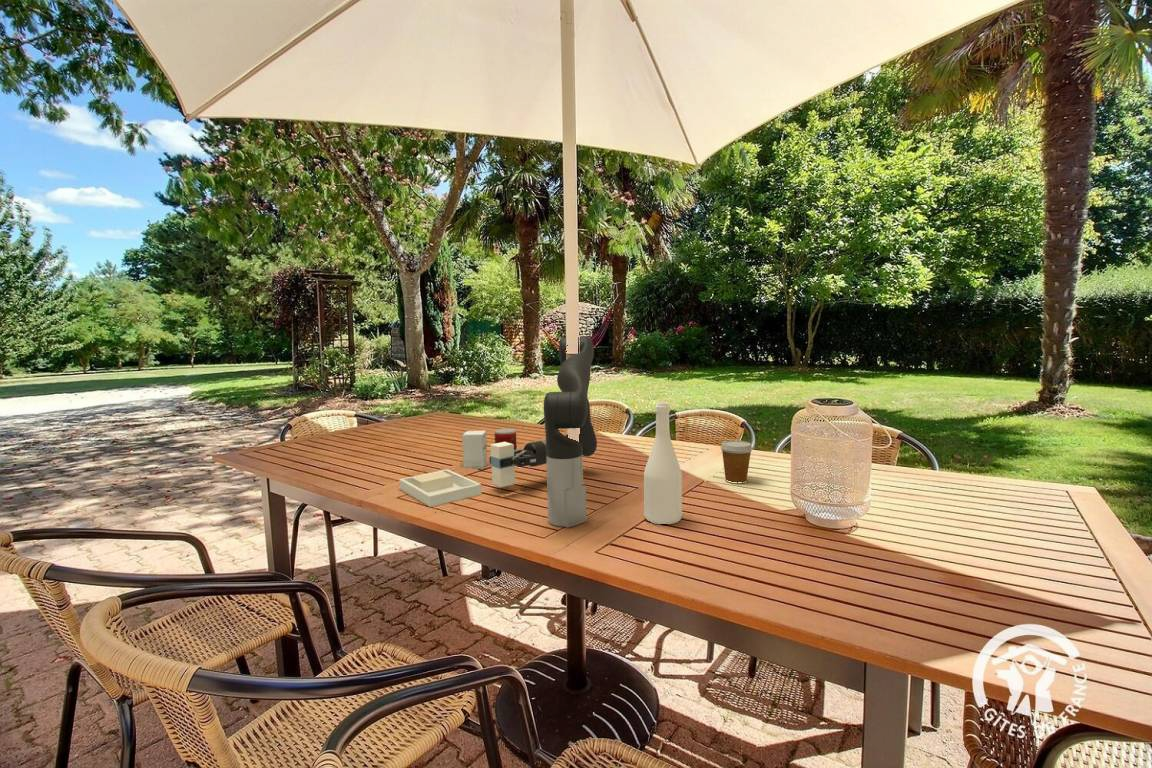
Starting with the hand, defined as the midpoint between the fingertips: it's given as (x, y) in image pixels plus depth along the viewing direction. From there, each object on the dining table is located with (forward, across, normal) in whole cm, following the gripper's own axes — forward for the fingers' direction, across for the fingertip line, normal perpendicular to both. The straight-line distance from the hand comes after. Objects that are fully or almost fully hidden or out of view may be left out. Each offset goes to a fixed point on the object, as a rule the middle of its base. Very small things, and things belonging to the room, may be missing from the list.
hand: (495, 462), depth 156 cm
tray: (+12, -12, +10) cm, 20 cm away
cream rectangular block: (+12, -17, +9) cm, 23 cm away
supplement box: (-11, -32, +10) cm, 35 cm away
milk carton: (-3, 0, +7) cm, 7 cm away
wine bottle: (-22, +46, +11) cm, 52 cm away
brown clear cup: (-63, +40, +11) cm, 75 cm away
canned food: (-25, -34, +10) cm, 43 cm away
